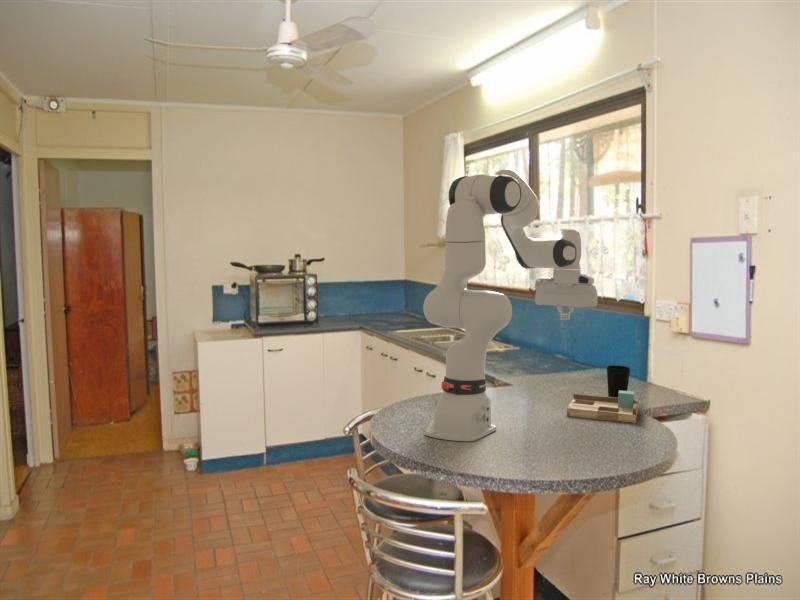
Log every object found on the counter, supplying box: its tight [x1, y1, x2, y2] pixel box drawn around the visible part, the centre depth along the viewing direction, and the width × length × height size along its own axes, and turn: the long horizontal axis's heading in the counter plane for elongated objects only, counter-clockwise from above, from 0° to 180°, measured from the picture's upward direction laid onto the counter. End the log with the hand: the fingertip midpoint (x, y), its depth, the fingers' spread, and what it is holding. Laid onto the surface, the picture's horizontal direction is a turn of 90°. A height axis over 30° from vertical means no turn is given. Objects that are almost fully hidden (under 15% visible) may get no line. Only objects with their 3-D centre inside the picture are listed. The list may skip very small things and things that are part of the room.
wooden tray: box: [566, 393, 639, 424], centre depth 197 cm, size 16×20×4 cm
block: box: [618, 390, 635, 409], centre depth 197 cm, size 4×4×4 cm
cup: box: [606, 364, 631, 398], centre depth 215 cm, size 8×8×12 cm
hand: (565, 319), depth 209 cm, fingers closed
